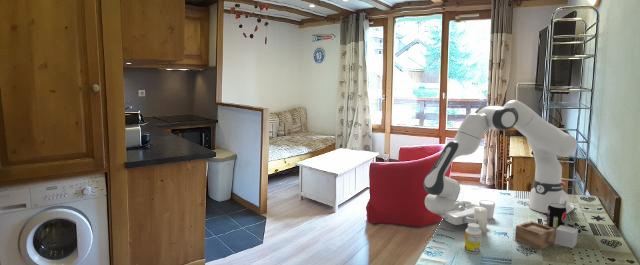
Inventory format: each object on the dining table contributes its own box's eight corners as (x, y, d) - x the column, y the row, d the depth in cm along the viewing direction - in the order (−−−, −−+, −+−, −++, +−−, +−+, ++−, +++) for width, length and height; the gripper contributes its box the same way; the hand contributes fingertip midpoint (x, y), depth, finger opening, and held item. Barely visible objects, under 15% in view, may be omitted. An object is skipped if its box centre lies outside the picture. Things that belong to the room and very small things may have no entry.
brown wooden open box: (530, 234, 160) (531, 220, 159) (554, 243, 151) (556, 229, 150) (515, 240, 155) (516, 225, 154) (539, 249, 146) (541, 234, 145)
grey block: (559, 239, 156) (560, 225, 155) (576, 243, 151) (578, 229, 151) (554, 243, 152) (556, 229, 151) (572, 248, 147) (574, 233, 146)
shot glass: (495, 219, 177) (496, 205, 176) (480, 218, 178) (480, 204, 177) (492, 214, 184) (493, 200, 183) (477, 213, 185) (477, 199, 184)
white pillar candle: (478, 229, 166) (479, 207, 164) (488, 233, 161) (490, 210, 160) (470, 231, 163) (471, 209, 162) (480, 236, 159) (482, 212, 157)
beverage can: (558, 237, 157) (560, 208, 156) (542, 231, 163) (544, 204, 162) (567, 234, 160) (570, 206, 159) (552, 228, 166) (554, 201, 165)
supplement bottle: (467, 246, 149) (468, 221, 148) (482, 250, 145) (483, 224, 144) (462, 251, 145) (463, 225, 143) (477, 255, 141) (478, 228, 140)
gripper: (438, 208, 167) (465, 218, 155) (470, 200, 177) (498, 209, 165) (438, 222, 168) (464, 233, 156) (470, 213, 178) (497, 223, 166)
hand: (482, 220), depth 161 cm, fingers closed on white pillar candle, 5 cm apart
